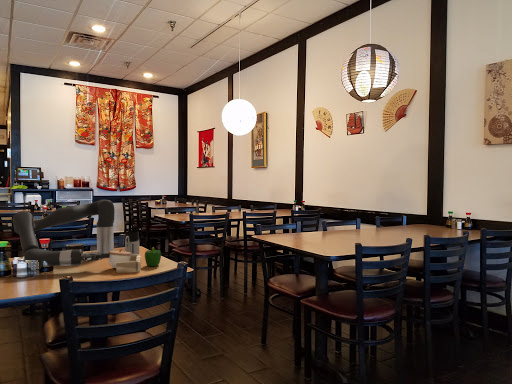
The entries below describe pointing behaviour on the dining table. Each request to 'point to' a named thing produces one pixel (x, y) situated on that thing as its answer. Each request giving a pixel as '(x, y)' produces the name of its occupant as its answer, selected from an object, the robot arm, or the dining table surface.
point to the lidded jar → (118, 257)
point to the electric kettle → (132, 242)
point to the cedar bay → (129, 265)
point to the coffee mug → (75, 246)
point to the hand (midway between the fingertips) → (109, 255)
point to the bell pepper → (152, 257)
